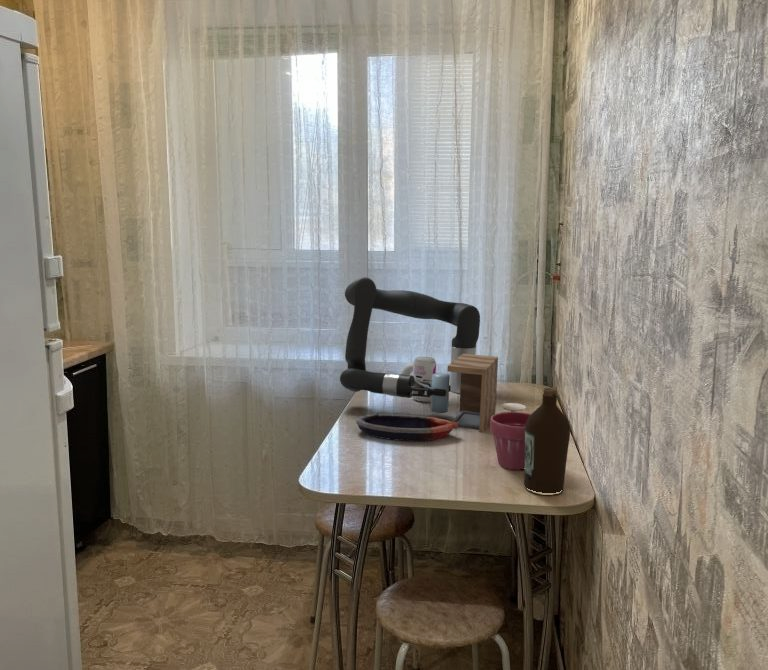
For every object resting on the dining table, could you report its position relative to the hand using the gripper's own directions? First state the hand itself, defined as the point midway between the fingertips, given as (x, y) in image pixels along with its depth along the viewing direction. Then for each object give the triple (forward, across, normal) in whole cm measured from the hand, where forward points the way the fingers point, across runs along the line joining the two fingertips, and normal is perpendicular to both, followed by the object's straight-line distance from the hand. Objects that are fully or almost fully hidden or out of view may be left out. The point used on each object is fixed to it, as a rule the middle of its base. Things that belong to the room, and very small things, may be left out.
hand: (447, 390), depth 223 cm
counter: (+8, +1, +9) cm, 12 cm away
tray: (+8, 0, +9) cm, 12 cm away
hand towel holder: (+23, +4, +10) cm, 25 cm away
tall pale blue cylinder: (-3, 0, +7) cm, 7 cm away
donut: (-22, +34, +10) cm, 41 cm away
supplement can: (-14, +20, +10) cm, 26 cm away
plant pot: (+27, -34, +10) cm, 45 cm away
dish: (-7, -21, +10) cm, 24 cm away
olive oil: (+36, -48, +9) cm, 61 cm away
